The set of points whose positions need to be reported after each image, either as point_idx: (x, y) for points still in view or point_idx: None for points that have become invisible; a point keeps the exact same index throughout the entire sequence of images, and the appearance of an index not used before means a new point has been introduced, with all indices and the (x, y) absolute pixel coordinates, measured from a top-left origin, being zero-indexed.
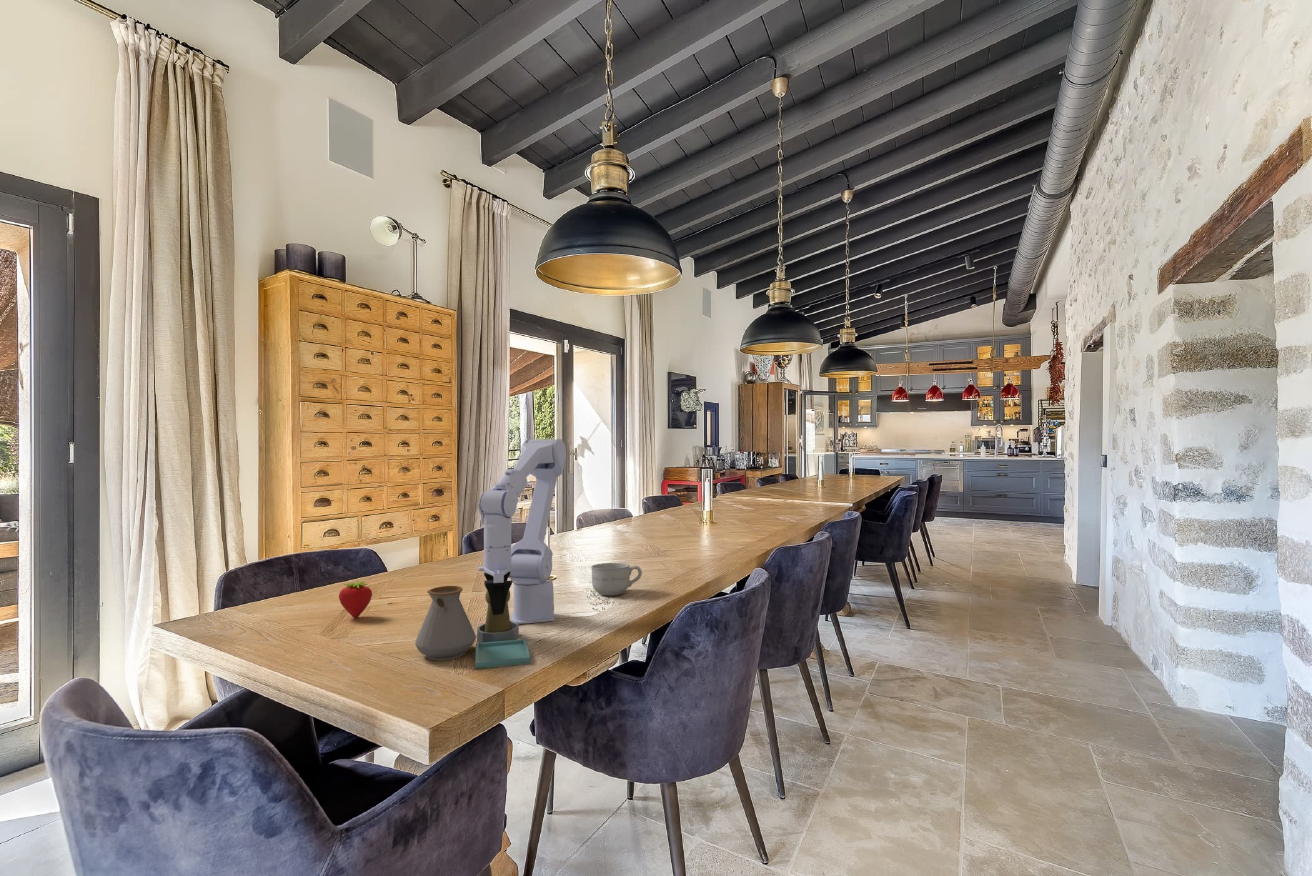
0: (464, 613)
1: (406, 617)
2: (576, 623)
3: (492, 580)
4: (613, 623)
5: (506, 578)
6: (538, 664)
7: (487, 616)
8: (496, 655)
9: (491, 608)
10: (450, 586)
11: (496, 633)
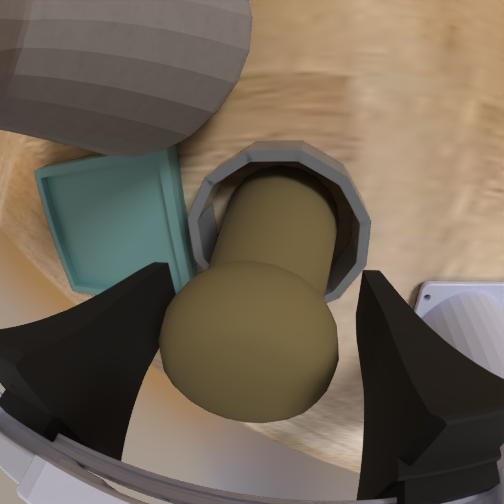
0: (39, 137)
1: None
2: (348, 408)
3: (44, 409)
4: (314, 443)
5: (364, 466)
6: (80, 296)
7: (243, 221)
8: (94, 216)
9: (211, 266)
10: None
11: (190, 231)
